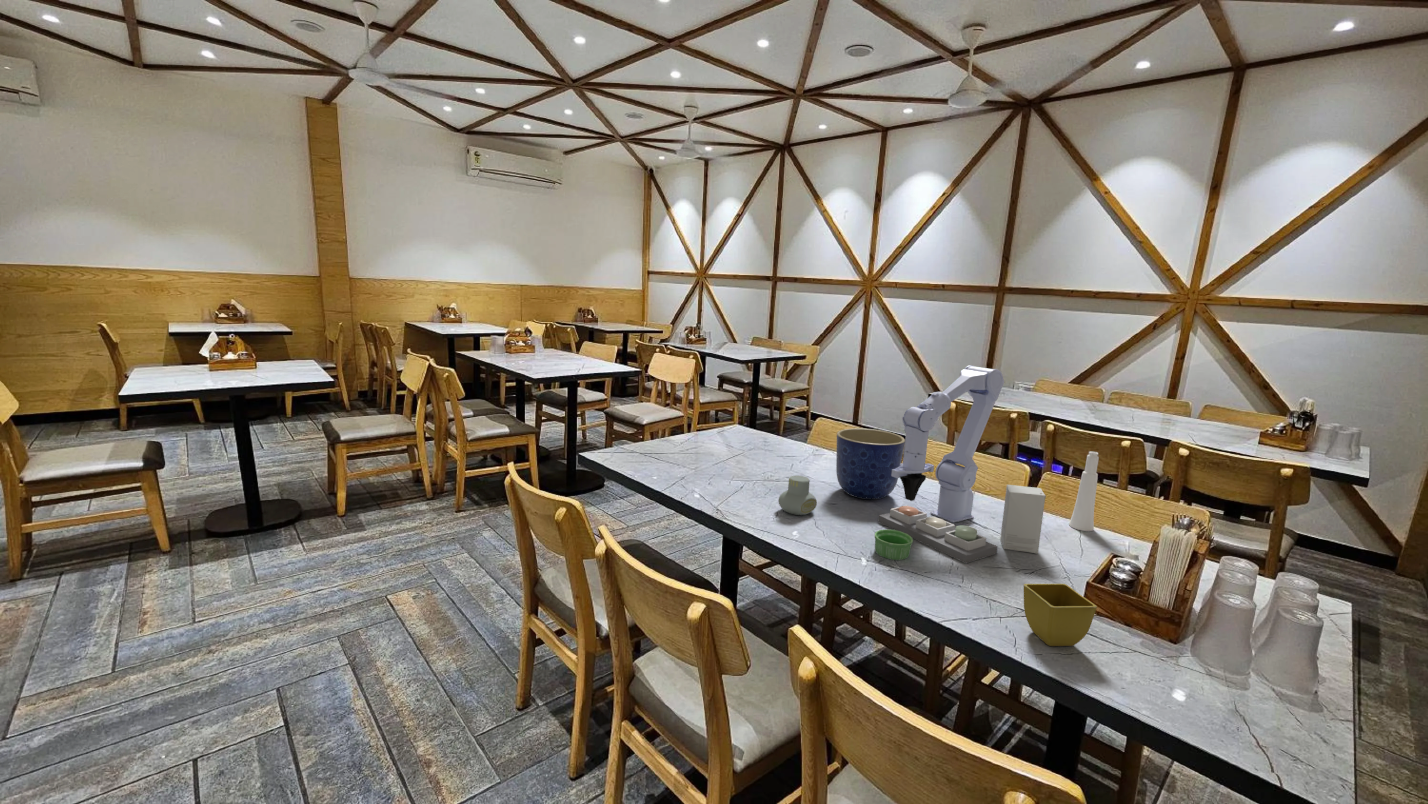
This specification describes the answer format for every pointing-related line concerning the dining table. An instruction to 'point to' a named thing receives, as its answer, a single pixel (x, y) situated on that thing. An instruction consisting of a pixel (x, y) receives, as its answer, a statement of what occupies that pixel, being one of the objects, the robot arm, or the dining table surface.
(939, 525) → the cream button
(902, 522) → the button panel
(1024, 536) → the skincare box
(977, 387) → the robot arm
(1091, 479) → the cosmetic bottle
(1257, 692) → the dining table surface
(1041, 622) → the flower pot
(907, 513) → the terracotta button
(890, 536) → the ramekin
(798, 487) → the air freshener
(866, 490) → the planter
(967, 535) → the sage button
